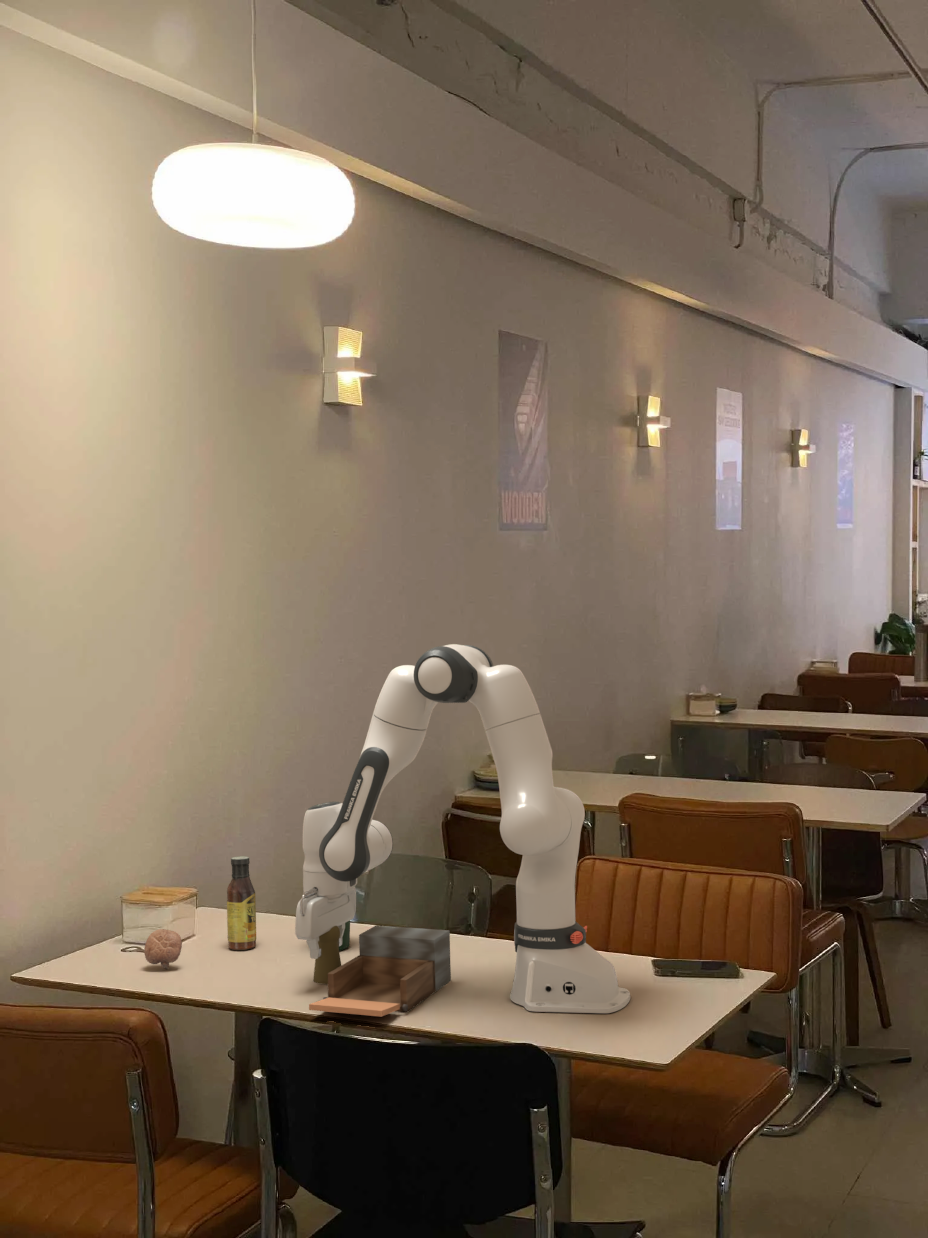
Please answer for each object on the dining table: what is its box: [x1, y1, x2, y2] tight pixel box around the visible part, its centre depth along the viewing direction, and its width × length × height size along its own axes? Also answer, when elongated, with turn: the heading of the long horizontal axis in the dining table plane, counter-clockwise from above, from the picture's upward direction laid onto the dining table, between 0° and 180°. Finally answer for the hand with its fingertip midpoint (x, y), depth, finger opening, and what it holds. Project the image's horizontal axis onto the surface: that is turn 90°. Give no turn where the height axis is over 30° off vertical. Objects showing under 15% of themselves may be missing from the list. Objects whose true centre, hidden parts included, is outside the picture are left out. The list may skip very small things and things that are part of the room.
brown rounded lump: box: [143, 928, 183, 970], centre depth 289 cm, size 8×6×8 cm
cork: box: [312, 926, 342, 985], centre depth 278 cm, size 6×6×11 cm
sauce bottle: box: [226, 855, 257, 951], centre depth 305 cm, size 7×6×20 cm
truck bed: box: [322, 925, 452, 1014], centre depth 267 cm, size 17×24×10 cm
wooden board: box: [308, 997, 400, 1017], centre depth 252 cm, size 14×1×8 cm
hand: (326, 952), depth 278 cm, fingers open, 8 cm apart
